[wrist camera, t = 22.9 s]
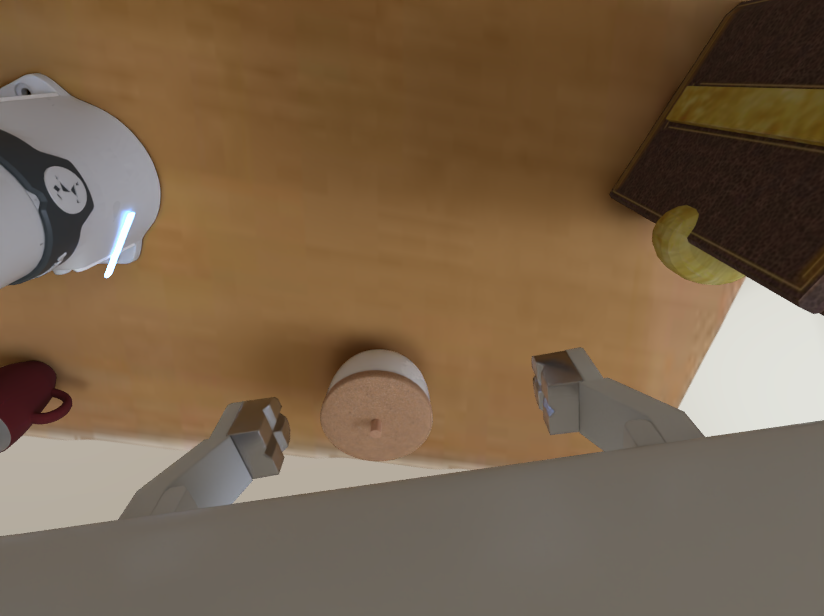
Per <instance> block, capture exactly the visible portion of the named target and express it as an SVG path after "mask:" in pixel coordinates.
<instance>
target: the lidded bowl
mask: <svg viewBox="0 0 824 616" xmlns="http://www.w3.org/2000/svg"><path fill="white" fill-rule="evenodd" d="M432 423H433V415H432V407H431V403H430V396H429V392H428V388H427V384H426V382H425V380H424V378H423V375H422V373H421V372H420V371H419V369H418V368H417V367H416V365H415V364H414V363H413V362H412V361H411V360H409V359H408V358H406V357H405V356H403V355H401V354H399V353H397V352H394V351H390V350H384V349H373V350H368V351H364V352H361V353H359V354H357V355H355V356H353V357H351V358H350V359H349V360H347V361H346V362H345V363H344V364H343V365H342V366H341V367H340V368H339V370H338V371H337V373H336V374H335V376H334V377H333V379H332V381H331V383H330V386H329V388H328V391H327V394H326V397H325V399H324V401H323V404H322V409H321V425H322V428H323V431H324V433H325V435H326V436H327V438H328V439H329V440H330V441H331V443H332V444H333V445H334V446H336V447H337V448H338V449H339V450H341V451H343V452H344V453H346V454H348V455H350V456H353V457H355V458H359V459H362V460H368V461H388V460H394V459H397V458H401V457H403V456H406V455H408V454H410V453H411V452H413V451H415V450H416V449H417V448H418V447H420V446H421V445H422V444H423V442H424V441H425V440H426V439H427V437H428V435H429V434H430V431H431V428H432Z"/></svg>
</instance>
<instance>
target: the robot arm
mask: <svg viewBox="0 0 824 616" xmlns="http://www.w3.org/2000/svg"><path fill="white" fill-rule="evenodd" d="M27 89H28V90H29V91H30V92H31V95H28V93H27ZM160 197H161V194H160V184H159V179H158V175H157V172H156V169H155V167H154V164H153V162H152V160H151V158H150V156H149V154H148V153H147V151H146V150H145V148H144V146H143V145H142V144H141V142H140V141H139V140H138V139H137V137H136V136H135V135H134V134H133V133H132V132H131V131H130V130H129V129H128V128H127V127H126V126H125V125H124V124H122V123H121V122H120V121H119V120H117V119H116V118H115V117H113V116H112V115H110V114H109V113H107V112H105V111H104V110H102V109H100V108H98V107H96V106H93V105H91V104H88V103H86V102H83V101H81V100H79V99H77V98H75V97H73V96H71V95H70V94H69V93H67V92H66V91H65V90H64V89H63V88H61V87H60V86H59V85H58V84H57V83H55V82H54V81H53V80H51V79H50V78H48V77H47V76H45V75H43V74H40V73H33V74H27V75H24V76H22V77H20V78H19V79H17V80H15V81H13V82H11V83H9V84H7V85H6V86H4V87H2V88H0V289H1V288H3V287H5V286H7V285H16V284H20V283H23V282H26V281H28V280H31V279H33V278H38V277H40V276H42V275H44V274H46V273H48V272H50V271H51V270H53V272H54V273H55V274H56V275H61V274H66V273H69V272H70V271H71V270H74V271H76V272H81V271H84V270H86V269H88V268H90V267H93V266H95V265H97V264H108V267H107V270H106V272H105V275H104V277H106V278H108V277H109V276H111V274H112V272H113V269H114V267H115V264H128V263H131V262H133V261H135V260H137V259H138V258H139V256H140V252H141V246H142V238H143V236H144V235H145V233H146V232H147V230H148V229H149V228H150V227H151V225H152V224H153V222H154V221H155V219H156V216H157V214H158V211H159V206H160ZM532 369H533V371H534V373H535V376H534V378H533V387H534V393H535V397H536V401H537V404H538V406H539V409H541V410H542V411H543V417H544V421H545V424H546V426H547V428H548V431H549V433H550V435H555V434H563V433H571V432H580V433H581V434H582V435H583V436H585V437H586V438H587V439H589V440H590V441H591V442H593V443H594V444H595V445H597V446H598V447H599V448H601V449H602V450H603V451H604V452H597V453H590V454H583V455H576V456H569V457H562V458H555V459H547V460H540V461H533V462H526V463H519V464H512V465H505V466H498V467H491V468H484V469H477V470H470V471H463V472H456V473H449V474H441V475H434V476H427V477H420V478H414V479H406V480H399V481H392V482H385V483H378V484H370V485H364V486H357V487H349V488H342V489H336V490H328V491H321V492H314V493H307V494H300V495H292V496H286V497H278V498H271V499H264V500H257V501H250V502H243V503H236V504H232V503H233V502H234V501H235V500H236V499H237V498H238V497H239V495H240V494H241V493H242V492H243V491H244V490H245V489H246V487H247V486H248V485H249V484H250V483H251V482H252V481H253V480H252V479H255V478H261V477H267V476H272V475H278V474H279V472H280V469H281V466H282V463H283V460H284V456H283V453H282V452H283V451H284V450H285V449H286V448H287V447H288V444H289V441H290V427H289V422H288V420H287V418H286V417H285V416H284V415H282V414H281V413H280V410H281V408H282V406H281V404H280V402H279V400H278V398H276V397H271V398H264V399H256V400H249V401H242V402H236V403H231V404H229V405H228V406H227V407H226V409H225V411H224V413H223V415H222V416H221V418H220V420H219V422H218V424H217V425H216V427H215V429H214V431H213V433H212V434H211V436H210V438H209V439H206V440H203V441H202V442H201V443H200V444H198V445H197V446H196V447H194V448H193V449H192V450H190V451H189V452H188V453H186V454H185V455H184V456H183V457H181V458H180V459H179V460H177V461H176V462H175V463H173V464H172V465H171V466H169V467H168V468H167V469H165V470H164V471H163V472H162V473H160V474H159V475H158V476H156V477H155V478H154V479H153V480H151V481H150V482H148V483H147V484H146V485H144V486H143V487H142V488H141V489H139V490H138V491H137V492H136V493H135V495H134V496H133V498H132V500H131V501H130V503H129V504H128V506H127V507H126V509H125V510H124V512H123V513H122V515H121V516H120V518H119V519H118V520H116V521H108V522H101V523H94V524H87V525H80V526H73V527H66V528H59V529H52V530H44V531H37V532H30V533H24V534H15V535H7V536H0V616H824V420H823V421H815V422H809V423H802V424H795V425H788V426H782V427H774V428H767V429H760V430H753V431H746V432H739V433H732V434H725V435H718V436H711V437H705V436H704V435H703V434H702V433H701V432H700V430H699V429H698V428H697V427H696V426H695V424H694V423H693V422H692V421H691V420H690V418H689V417H688V416H687V415H686V414H685V412H683V411H681V410H679V409H677V408H674V407H672V406H670V405H668V404H666V403H663V402H661V401H659V400H657V399H654V398H652V397H650V396H648V395H646V394H643V393H641V392H639V391H637V390H634V389H632V388H630V387H628V386H626V385H623V384H621V383H619V382H617V381H614V380H612V379H610V378H603V377H602V375H601V374H600V372H599V371H598V370H597V368H596V367H595V365H594V364H593V362H592V361H591V359H590V358H589V356H588V355H587V353H586V352H585V350H584V349H583V348H581V347H579V348H574V349H569V350H565V351H560V352H554V353H548V354H542V355H536V356H532Z"/></svg>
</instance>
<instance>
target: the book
mask: <svg viewBox="0 0 824 616" xmlns="http://www.w3.org/2000/svg"><path fill="white" fill-rule="evenodd" d="M610 197H611V198H612V199H614V200H616V201H618V202H619V203H621V204H623V205H625V206H626V207H628V208H630V209H631V210H633V211H635V212H637V213H638V214H640V215H642V216H643V217H645V218H647V219H649V220H650V221H652V222H654V223H656V225H655V227H654V229H653V236H652V242H653V245H654V248H655V251H656V254H657V256H658V258H659V259H660V260H661V261H662V262H663V264H664V265H665V266H666V267H667V268H669V269H670V270H672V271H673V272H675V273H676V274H678V275H679V276H681V277H682V278H684V279H686V280H690V281H693V282H696V283H700V284H711V285H721V284H726V283H732V282H734V281H736V280H739V279H741V278H743V277H745V276H747V277H749V278H751V279H752V280H754V281H755V282H757V283H759V284H761V285H762V286H764V287H766V288H768V289H769V290H771V291H773V292H774V293H776V294H778V295H780V296H781V297H783V298H785V299H787V300H788V301H790V302H792V303H793V304H795V305H797V306H798V307H801V308H803V309H805V310H807V311H809V312H811V313H813V314H815V313H820V314H822V315H823V316H824V0H750V1H746V2H741V3H740V4H739V5H737V6H736V7H735V8H734V9H733V10H732V11H730V12H729V13H728V14H727V15H726V16H725V17H724V19H723V20H722V22H721V23H720V25H719V27H718V28H717V30H716V31H715V33H714V34H713V36H712V37H711V39H710V40H709V42H708V43H707V45H706V47H705V48H704V50H703V51H702V53H701V54H700V56H699V57H698V59H697V60H696V62H695V63H694V65H693V67H692V68H691V70H690V71H689V73H688V74H687V76H686V77H685V79H684V80H683V82H682V83H681V85H680V86H679V88H678V90H677V91H676V93H675V94H674V96H673V97H672V99H671V100H670V102H669V103H668V105H667V106H666V108H665V110H664V111H663V113H662V114H661V116H660V117H659V119H658V120H657V122H656V123H655V125H654V126H653V128H652V130H651V131H650V133H649V134H648V136H647V137H646V139H645V140H644V142H643V143H642V145H641V146H640V148H639V150H638V151H637V153H636V154H635V156H634V157H633V159H632V160H631V162H630V163H629V165H628V166H627V168H626V170H625V171H624V173H623V174H622V176H621V177H620V179H619V180H618V182H617V183H616V185H615V186H614V188H613V189H612V191H611V193H610Z"/></svg>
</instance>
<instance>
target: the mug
mask: <svg viewBox="0 0 824 616" xmlns="http://www.w3.org/2000/svg"><path fill="white" fill-rule="evenodd" d="M55 384H56V374H55V372H54V371H53V369H52V368H51V367H49V366H48V365H47V364H45V363H43V362H39V361H26V362H19V363H14V364H9V365H6V366H3V367H1V368H0V453H1V452H3V451H5V450H6V449H8V448H9V447H10V446H11V445H12V444H13V443H15V442H16V441H17V440H18V439H19V438H20V437H21V436H22V435H23V434H24V433H25V432H26V431H27V430H28V429H29V428H30V426H31V425H32V424H47V423H51V422H54V421H56V420H59V419H60V418H62V417H64V416H65V415H66V414H67V413H68V412H69V411H70V409H71V407H72V399H71V397H70V396H69V395H68V394H67V393H66V392H64V391H61V390H58V389H55ZM52 397H55V398H58V399H60V400H62V401H63V404H62V405H61V406H60V407H58V408H57V409H55V410H53V411H50V412H47V413H41V412H42V410H43V409H44V408H45V406H46V405H47V404H48V402H49V401H50V399H51V398H52Z"/></svg>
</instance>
